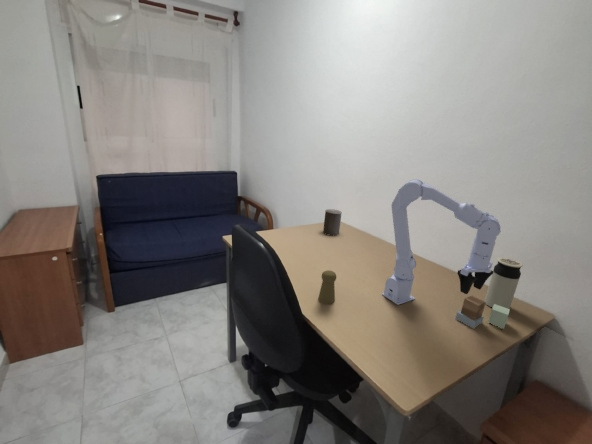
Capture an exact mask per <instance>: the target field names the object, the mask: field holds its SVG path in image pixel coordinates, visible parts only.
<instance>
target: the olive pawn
mask: <svg viewBox="0 0 592 444" xmlns="http://www.w3.org/2000/svg"><path fill="white" fill-rule="evenodd" d="M321 280H322V281H321V282H322V283H321V286H320V291H319V294H318V298H317V299H318V301H319V302H320V303H322V304H324V305H333V304H335V302H336V292H335V282H336V280H337V274H336V272H335V271H333V270H330V269H329V270H324V271H323V272H322V273H321Z"/></svg>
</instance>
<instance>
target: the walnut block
mask: <svg viewBox="0 0 592 444" xmlns="http://www.w3.org/2000/svg"><path fill="white" fill-rule="evenodd" d="M485 306H486V302H484V300H482V299H481V298H478V297H476V296H474V295H470V296H467V297H465V298H464V299H463V303H462V306H461V307H462V308H461V309H460V310H461V313H462V314H464V315H466V316H467V317H469V318H471V319H473V320H476V319H478V318H480V317H482V316H483V312H484V309H485Z"/></svg>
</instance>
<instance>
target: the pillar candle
mask: <svg viewBox="0 0 592 444" xmlns="http://www.w3.org/2000/svg"><path fill="white" fill-rule="evenodd" d="M342 214H343V213H342V210H339V209H335V208H327V209H325V213H324V221H323V230H322V233H323V232H324V234H325V233H326V234H325V235H327V234H330V235H329V236H333V235H334V236H338V235H339V234H340V227H341V220H342ZM337 234H338V235H337Z"/></svg>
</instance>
